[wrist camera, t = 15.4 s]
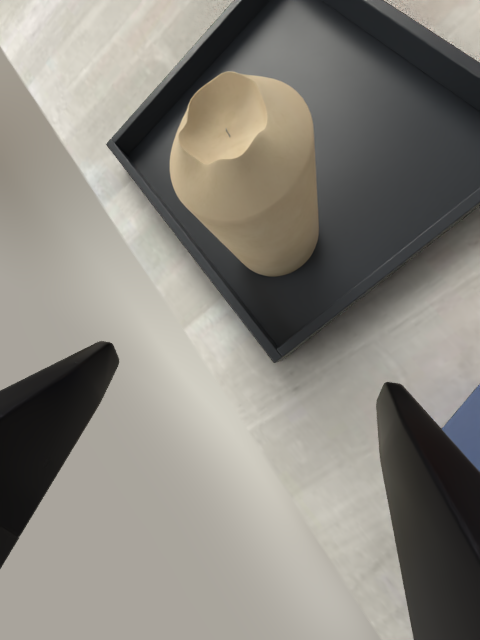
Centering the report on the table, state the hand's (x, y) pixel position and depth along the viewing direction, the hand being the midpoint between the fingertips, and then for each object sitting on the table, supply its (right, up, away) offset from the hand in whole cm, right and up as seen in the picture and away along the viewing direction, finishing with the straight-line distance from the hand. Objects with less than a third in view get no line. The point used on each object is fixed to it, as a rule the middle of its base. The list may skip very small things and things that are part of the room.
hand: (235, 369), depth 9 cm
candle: (+3, +7, +9) cm, 12 cm away
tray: (+3, +13, +10) cm, 17 cm away
